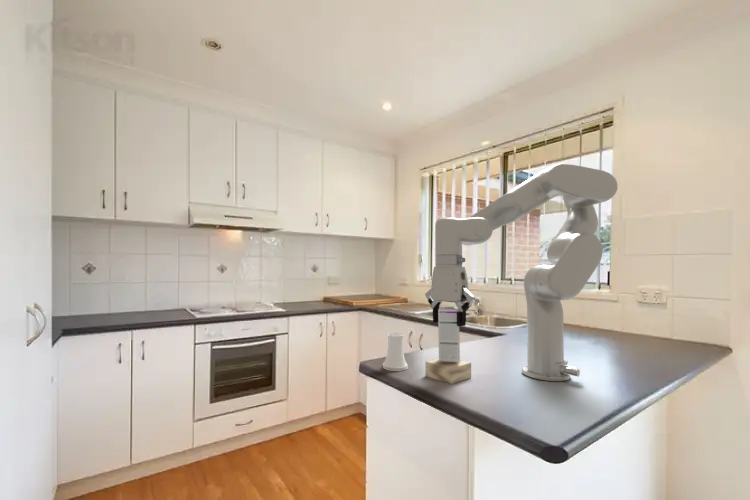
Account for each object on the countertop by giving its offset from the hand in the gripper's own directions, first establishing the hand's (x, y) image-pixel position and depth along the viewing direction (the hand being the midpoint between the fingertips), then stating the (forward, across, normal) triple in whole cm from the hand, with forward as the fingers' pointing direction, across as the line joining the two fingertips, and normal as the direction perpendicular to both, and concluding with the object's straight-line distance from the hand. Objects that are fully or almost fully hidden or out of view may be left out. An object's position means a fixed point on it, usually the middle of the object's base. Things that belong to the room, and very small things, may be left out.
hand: (448, 323), depth 102 cm
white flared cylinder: (+15, +16, +5) cm, 23 cm away
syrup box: (+10, 0, 0) cm, 10 cm away
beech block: (+15, 0, 0) cm, 15 cm away
